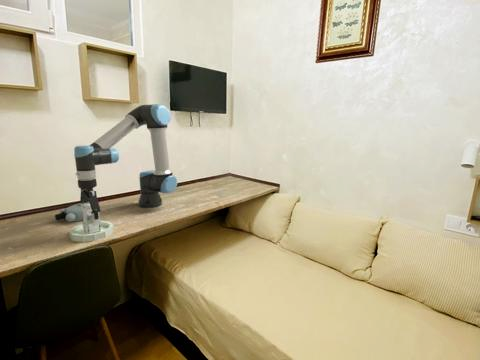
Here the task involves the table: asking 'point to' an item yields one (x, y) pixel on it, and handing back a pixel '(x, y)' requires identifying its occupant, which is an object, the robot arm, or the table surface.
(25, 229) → the table surface
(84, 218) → the syrup box
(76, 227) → the round bowl
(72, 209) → the figurine
